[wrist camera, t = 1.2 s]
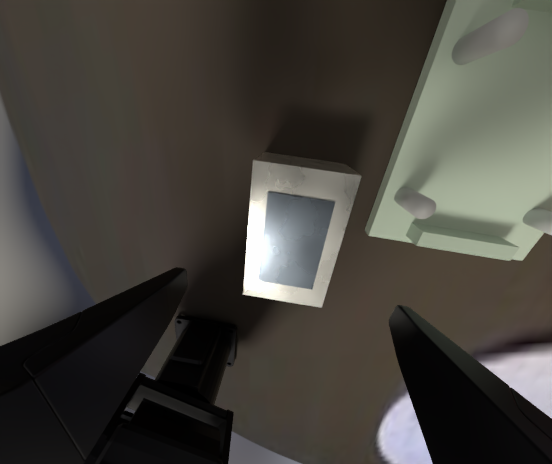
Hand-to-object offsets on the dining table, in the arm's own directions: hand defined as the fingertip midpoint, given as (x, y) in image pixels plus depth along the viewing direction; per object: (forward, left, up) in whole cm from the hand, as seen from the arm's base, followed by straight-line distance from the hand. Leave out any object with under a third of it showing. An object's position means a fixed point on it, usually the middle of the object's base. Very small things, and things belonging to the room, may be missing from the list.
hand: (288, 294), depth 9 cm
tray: (+7, -11, -8) cm, 16 cm away
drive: (0, 0, -9) cm, 9 cm away
